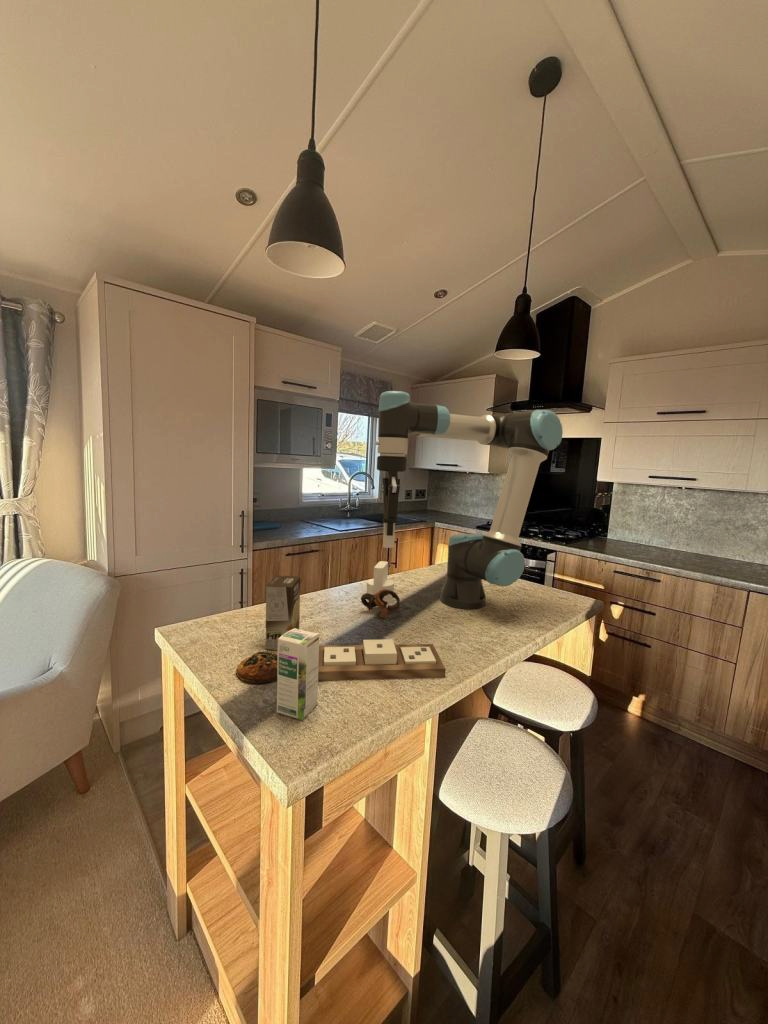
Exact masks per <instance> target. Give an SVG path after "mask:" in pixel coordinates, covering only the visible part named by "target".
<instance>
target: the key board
mask: <svg viewBox="0 0 768 1024" xmlns="http://www.w3.org/2000/svg"><path fill="white" fill-rule="evenodd" d="M394 645H395V649H396V652H397V664H374V665H365V662H364V654H363V644H347V645H344V644H342V645H337V644H336V645H334V644H333V645H319V666H318V682H319V681H348V680H349V681H351V680H357V681H358V680H390V679H391V680H392V679H426V678H427V679H429V678H446V667H445V665H444V663H443V661H442V659H441V657H440V655H439V653H438V651H437V649H436V647H435V646H434V644H433V643H416V644H415V643H411V644H409V643H407V644H406V643H405V644H402V643H401V644H394ZM325 647H355V656H356V666H324V648H325ZM401 647H430V649H431V651H432V653H433V655H434V657H435V660H436V664H405V665H404V662H403V659H402V656H401V653H400V648H401Z"/></svg>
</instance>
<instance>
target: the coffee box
mask: <svg viewBox="0 0 768 1024" xmlns="http://www.w3.org/2000/svg"><path fill="white" fill-rule="evenodd" d="M300 612H301V576H299V575H298V576H297V575H276V576H275V577H274V578H273V579H272V580H271V581H270V582H268V583H267V584H266V585H265V650H268V651H269V650H272V651H273V650H276V651H278V638H280V637H281V636H282V635H283V634H285V633H286V632H288V631H290V630H292V629H294V628H296V629H299V630H300V623H301V621H300V619H301V618H300V616H301V614H300Z"/></svg>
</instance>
